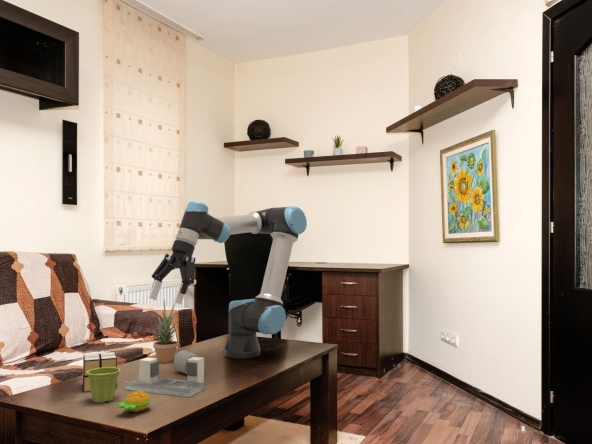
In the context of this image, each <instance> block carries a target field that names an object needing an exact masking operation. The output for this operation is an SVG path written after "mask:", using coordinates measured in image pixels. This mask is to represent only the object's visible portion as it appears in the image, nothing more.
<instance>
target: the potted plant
mask: <svg viewBox="0 0 592 444" xmlns="http://www.w3.org/2000/svg"><path fill="white" fill-rule="evenodd" d="M175 305H176V303H175V302H173V305H172V307H171V311H170V312H169V315H168V316H167V313H166V301H165V299H163V309H162V310H161V311H162V313H161V314H162V320H161V318H160V316H157V320H158V322H159V324H157V330H158V332H157V331H156V330H155V329H154V328H152V330H153V332H154V333H155V334H154V336H155V337H156V338H157V340H156V342H153V346H152V347H153V348H154V351H155V356H156V358H157V361H159V364H160V363H161V364H165V363H166V364H167V363H171V362H174V358H175V356H176V352H177V348H178V347H179V342H178V341H176V340H174V338H175V337H174V336H175V334H174V333H175V332H176V330H177V328H176V324H177V323H178V322H177V321H176V322H175V323H174V324H173V325H172V323H173V320H174V309H175Z"/></svg>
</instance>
